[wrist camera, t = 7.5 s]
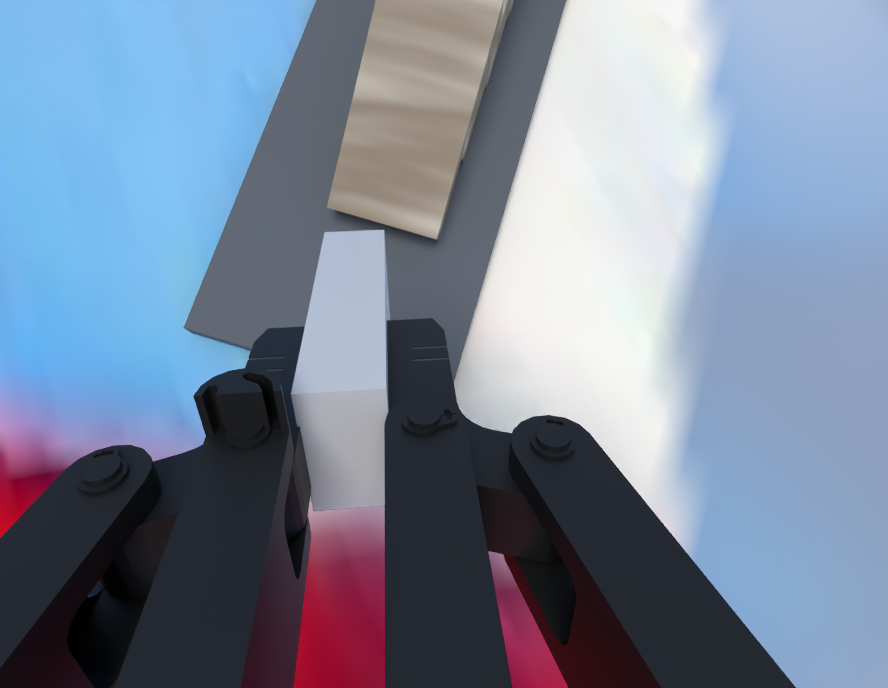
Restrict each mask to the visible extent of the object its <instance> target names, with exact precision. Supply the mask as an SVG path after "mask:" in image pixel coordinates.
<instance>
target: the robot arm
mask: <svg viewBox="0 0 888 688" xmlns="http://www.w3.org/2000/svg"><path fill="white" fill-rule="evenodd" d="M194 399H195V402H196V406H197V409H198V412H199V415H200V418H201V422H202V425H203V428H204V431H205V434H206V438H205V441H204V443H203V445H201V446H199V447H197V448H196V449H193V450H190V451H187V452H185V453H182V454H178V455H175V456H171V457H168V458H164V459H161V460H157V461H154V462H153V461H152V458H151V456H150V455H149V454H148V453H147V452H146V451H145V450H144V449H142V448H139V447H135V446H132V445H117V446H111V447H107V448H103V449H100V450H96V451H94V452H92V453H90V454H88V455H86V456H84V457H82V458H80V459H78V460H77V461H76V462H74V463H73V464H72V465H71V466H69V467H68V468H67V469H66V470H65V471H63V472H62V474H61V475H60V476H59V477H58V478H57V479H56V480H55V481H54V482H53V483H52V484H51V485H50V486H49V487H48V488H47V489H46V490H45V492H44V493H43V494H42V495H41V496H40V497H39V498H38V499H37V500H36V501H35V502H34V503H33V504H32V505H31V506H30V507H29V508H28V509H27V511H26V512H25V513H24V514H23V515H22V516H21V517H20V518H19V519H18V520H17V521H16V522H15V523H14V524H13V525H12V526H11V527H10V529H9V530H8V531H7V532H6V533H5V534H4V535H3V536H2V537H1V538H0V688H293V686H294V677H295V669H296V660H297V652H298V643H299V635H300V626H301V618H302V609H303V601H304V592H305V584H306V575H307V567H308V559H309V550H310V542H311V531H310V524H309V519H308V508H309V500H310V496H311V501H312V506H313V511H321V510H334V509H347V508H360V507H374V506H385V688H512V683H511V677H510V672H509V666H508V661H507V655H506V649H505V644H504V638H503V633H502V627H501V621H500V616H499V610H498V605H497V599H496V593H495V588H494V582H493V577H492V571H491V565H490V560H489V554H488V551H491V552H496V553H501V554H504V558H505V561H506V563H507V565H508V567H509V569H510V571H511V573H512V575H513V577H514V579H515V581H516V583H517V585H518V587H519V589H520V591H521V593H522V595H523V597H524V599H525V601H526V603H527V605H528V607H529V609H530V611H531V613H532V615H533V617H534V619H535V621H536V623H537V625H538V627H539V629H540V631H541V633H542V635H543V637H544V639H545V641H546V643H547V645H548V647H549V649H550V651H551V653H552V655H553V657H554V659H555V661H556V663H557V665H558V667H559V669H560V671H561V673H562V675H563V677H564V680H565V682H566V684H567V686H568V688H796V687H795V686H794V685H793V684H792V682H791V681H790V680H789V679H788V678H787V676H786V675H785V674H784V672H783V671H782V670H781V669H780V668H779V666H778V665H777V664H776V663H775V661H774V660H773V659H772V658H771V656H770V655H769V654H768V653H767V652H766V650H765V649H764V648H763V647H762V646H761V644H760V643H759V642H758V641H757V639H756V638H755V637H754V636H753V634H752V633H751V632H750V631H749V629H748V628H747V627H746V626H745V624H744V623H743V622H742V621H741V619H740V618H739V617H738V616H737V615H736V614H735V612H734V611H733V610H732V608H731V607H730V606H729V605H728V603H727V602H726V601H725V600H724V599H723V597H722V596H721V595H720V594H719V592H718V591H717V590H716V589H715V587H714V586H713V585H712V584H711V582H710V581H709V580H708V579H707V578H706V576H705V575H704V574H703V573H702V571H701V570H700V569H699V568H698V566H697V565H696V564H695V563H694V562H693V560H692V559H691V558H690V557H689V555H688V554H687V553H686V552H685V550H684V549H683V548H682V547H681V545H680V544H679V543H678V542H677V541H676V539H675V538H674V537H673V536H672V534H671V533H670V532H669V531H668V529H667V528H666V527H665V526H664V525H663V523H662V522H661V521H660V520H659V518H658V517H657V516H656V515H655V513H654V512H653V511H652V510H651V508H650V507H649V506H648V505H647V504H646V502H645V501H644V500H643V499H642V497H641V496H640V495H639V494H638V492H637V491H636V490H635V489H634V488H633V486H632V485H631V484H630V483H629V481H628V480H627V479H626V478H625V476H624V475H623V474H622V473H621V472H620V470H619V469H618V468H617V467H616V465H615V464H614V463H613V462H612V460H611V459H610V458H609V457H608V455H607V454H606V453H605V452H604V451H603V449H602V448H601V447H600V446H599V444H598V443H597V442H596V441H595V439H594V438H593V437H592V436H591V435H590V433H589V432H587V431H586V430H585V429H584V428H583V427H582V426H580V425H579V424H577V423H575V422H573V421H571V420H568V419H566V418H563V417H557V416H551V415H546V416H535V417H532V418H529V419H527V420H525V421H522V422H521V423H520V424H519V425H518V426H517V427H516V428H515V429H514V430H513V432H512V433H507V432H501V431H495V430H491V429H487V428H483V427H481V426H479V425H477V424H475V423H473V422H471V421H470V420H469V419H467V418H466V417H465V416H464V415H463V414H462V412H461V411H460V409H459V407H458V404H457V400H456V395H455V389H454V383H453V377H452V371H451V366H450V360H449V354H448V348H447V343H446V337H445V331H444V329H443V328H442V327H441V326H440V325H439V324H438V323H437V322H436V321H435V320H434V319H433V318H425V319H405V320H390V309H389V294H388V279H387V264H386V249H385V234H384V230H365V231H340V232H324V237H323V242H322V247H321V252H320V257H319V261H318V266H317V271H316V276H315V281H314V285H313V290H312V295H311V300H310V305H309V309H308V314H307V319H306V324H305V326H302V327H283V328H268V329H267V330H266V331H265V332H264V333H263V334H262V335H261V336H260V337H259V338H258V339H257V340H256V341H255V342H254V343H253V346H252V349H251V352H250V355H249V360H248V361H247V364H246V367H245V368H244V369H238V370H232V371H228V372H225V373H223V374H220V375H217V376H215V377H213V378H211V379H210V380H209V381H207V382H206V383H204V384H203V385H201V386H200V388H199V389H198V391H197V392H196V393H195V395H194Z"/></svg>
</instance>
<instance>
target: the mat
mask: <svg viewBox="0 0 888 688" xmlns="http://www.w3.org/2000/svg"><path fill="white" fill-rule="evenodd" d="M375 1H376V0H317V1H316V3H315V6H314V8H313V11H312V13H311V15H310V18H309V20H308V23H307V25H306V28H305V30H304V33H303V35H302V38H301V40H300V43H299V45H298V47H297V50H296V52H295V55H294V57H293V60H292V62H291V65H290V67H289V70H288V72H287V75H286V77H285V80H284V82H283V84H282V87H281V89H280V92H279V94H278V97H277V99H276V102H275V104H274V107H273V109H272V112H271V114H270V116H269V119H268V121H267V124H266V126H265V129H264V131H263V134H262V136H261V139H260V141H259V144H258V146H257V148H256V151H255V153H254V156H253V158H252V161H251V163H250V166H249V168H248V171H247V173H246V176H245V178H244V181H243V183H242V185H241V188H240V190H239V193H238V195H237V198H236V200H235V203H234V205H233V208H232V210H231V213H230V215H229V217H228V220H227V222H226V225H225V227H224V230H223V232H222V235H221V237H220V240H219V242H218V245H217V247H216V249H215V252H214V254H213V257H212V259H211V262H210V264H209V267H208V269H207V272H206V274H205V277H204V279H203V282H202V284H201V286H200V289H199V291H198V294H197V296H196V299H195V301H194V304H193V306H192V309H191V311H190V314H189V316H188V318H187V321H186V323H185V326H184V328H185V329H186V330H188V331H190V332H191V333H194V334H197V335H201V336H204V337H207V338H211V339H214V340H217V341H220V342H224V343H227V344H230V345H234V346H237V347H240V348H244V349H247V350H250V351H251V349H252V346H253V343H254V342H255V341H256V340H257V339H258V338H259V337H260V336H261V335H262V334H263V333H264V332H265V331H266V330H267V329H268V328H283V327H302V326H305V324H306V319H307V314H308V309H309V305H310V300H311V295H312V290H313V285H314V281H315V276H316V271H317V266H318V261H319V257H320V252H321V247H322V242H323V237H324V232H340V231H365V230H384V234H385V249H386V264H387V279H388V294H389V309H390V320H405V319H425V318H433V319H434V320H435V321H436V322H437V323H438V324H439V325H440V326H441V327H442V328H443V329H444V331H445V337H446V343H447V348H448V354H449V360H450V366H451V371H452V377H453V382H454V379H455V375H456V372H457V369H458V365H459V362H460V358H461V355H462V352H463V348H464V345H465V341H466V338H467V335H468V331H469V328H470V324H471V321H472V318H473V314H474V311H475V307H476V304H477V301H478V297H479V294H480V290H481V287H482V284H483V280H484V277H485V273H486V270H487V267H488V263H489V260H490V256H491V253H492V250H493V246H494V243H495V239H496V236H497V233H498V229H499V226H500V222H501V219H502V216H503V212H504V209H505V205H506V202H507V199H508V195H509V192H510V188H511V185H512V182H513V178H514V175H515V171H516V168H517V165H518V161H519V158H520V154H521V151H522V148H523V144H524V141H525V137H526V134H527V131H528V127H529V124H530V120H531V117H532V114H533V110H534V107H535V104H536V100H537V97H538V93H539V90H540V87H541V83H542V80H543V76H544V73H545V70H546V66H547V63H548V59H549V56H550V53H551V49H552V46H553V42H554V39H555V36H556V32H557V29H558V25H559V22H560V19H561V15H562V12H563V8H564V5H565V2H566V0H514V3H513V7H512V10H511V14H510V17H509V21H506V24H505V27H504V31H503V34H502V38H501V41H500V44H499V48H498V51H497V55H496V58H495V62H494V65H493V69H492V72H491V75H490V79H489V82H488V86H487V89H486V91H484V92H483V96H482V99H481V103H480V106H479V110H478V113H477V117H476V120H475V124H474V127H473V131H472V134H471V138H470V141H469V145H468V148H467V152H466V155H465V159H464V162H460V166H459V170H458V173H457V177H456V180H455V184H454V187H453V191H452V195H451V198H450V202H449V205H448V209H447V213H446V216H445V220H444V223H443V227H442V230H441V234H440V238H439V239H437V240H436V239H433V238H430V237H426V236H423V235H419V234H416V233H412V232H409V231H406V230H402V229H399V228H395V227H392V226H388V225H385V224H382V223H378V222H375V221H371V220H368V219H364V218H361V217H358V216H354V215H351V214H347V213H344V212H340V211H337V210H334V209H330V208H327V204H328V200H329V196H330V192H331V187H332V183H333V179H334V175H335V170H336V166H337V162H338V158H339V153H340V149H341V145H342V141H343V137H344V132H345V128H346V124H347V120H348V115H349V111H350V107H351V103H352V99H353V94H354V90H355V86H356V82H357V77H358V73H359V69H360V65H361V61H362V56H363V52H364V48H365V44H366V39H367V35H368V31H369V27H370V22H371V18H372V14H373V10H374V6H375Z"/></svg>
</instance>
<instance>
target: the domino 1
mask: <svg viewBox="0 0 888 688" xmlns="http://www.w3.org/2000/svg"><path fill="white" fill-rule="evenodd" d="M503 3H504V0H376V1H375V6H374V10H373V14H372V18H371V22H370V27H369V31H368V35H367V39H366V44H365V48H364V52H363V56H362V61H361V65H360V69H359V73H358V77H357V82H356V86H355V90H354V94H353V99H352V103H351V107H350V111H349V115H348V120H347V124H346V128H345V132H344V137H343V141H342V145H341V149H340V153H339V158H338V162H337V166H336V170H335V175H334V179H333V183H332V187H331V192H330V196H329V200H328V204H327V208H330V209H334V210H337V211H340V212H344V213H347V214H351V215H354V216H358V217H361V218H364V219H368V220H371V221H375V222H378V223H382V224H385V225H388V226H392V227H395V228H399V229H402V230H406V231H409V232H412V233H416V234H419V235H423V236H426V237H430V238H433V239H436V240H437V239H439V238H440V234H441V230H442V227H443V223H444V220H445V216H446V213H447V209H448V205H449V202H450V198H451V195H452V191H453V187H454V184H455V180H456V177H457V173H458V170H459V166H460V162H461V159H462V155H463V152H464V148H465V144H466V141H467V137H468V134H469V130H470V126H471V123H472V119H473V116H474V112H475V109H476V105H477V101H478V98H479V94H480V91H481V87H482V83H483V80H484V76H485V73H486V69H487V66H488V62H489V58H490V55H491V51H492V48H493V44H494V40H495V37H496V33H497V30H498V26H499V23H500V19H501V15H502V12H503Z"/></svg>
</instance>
